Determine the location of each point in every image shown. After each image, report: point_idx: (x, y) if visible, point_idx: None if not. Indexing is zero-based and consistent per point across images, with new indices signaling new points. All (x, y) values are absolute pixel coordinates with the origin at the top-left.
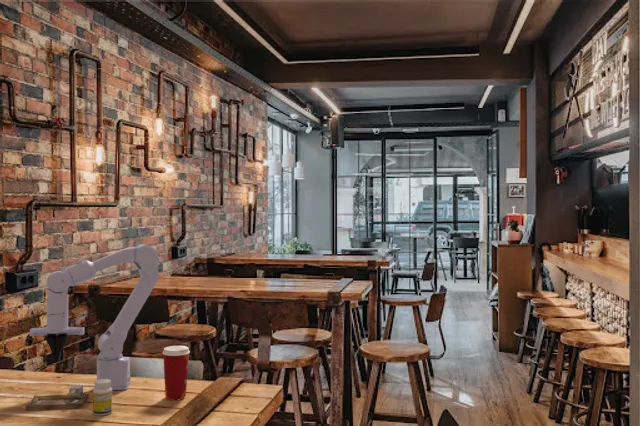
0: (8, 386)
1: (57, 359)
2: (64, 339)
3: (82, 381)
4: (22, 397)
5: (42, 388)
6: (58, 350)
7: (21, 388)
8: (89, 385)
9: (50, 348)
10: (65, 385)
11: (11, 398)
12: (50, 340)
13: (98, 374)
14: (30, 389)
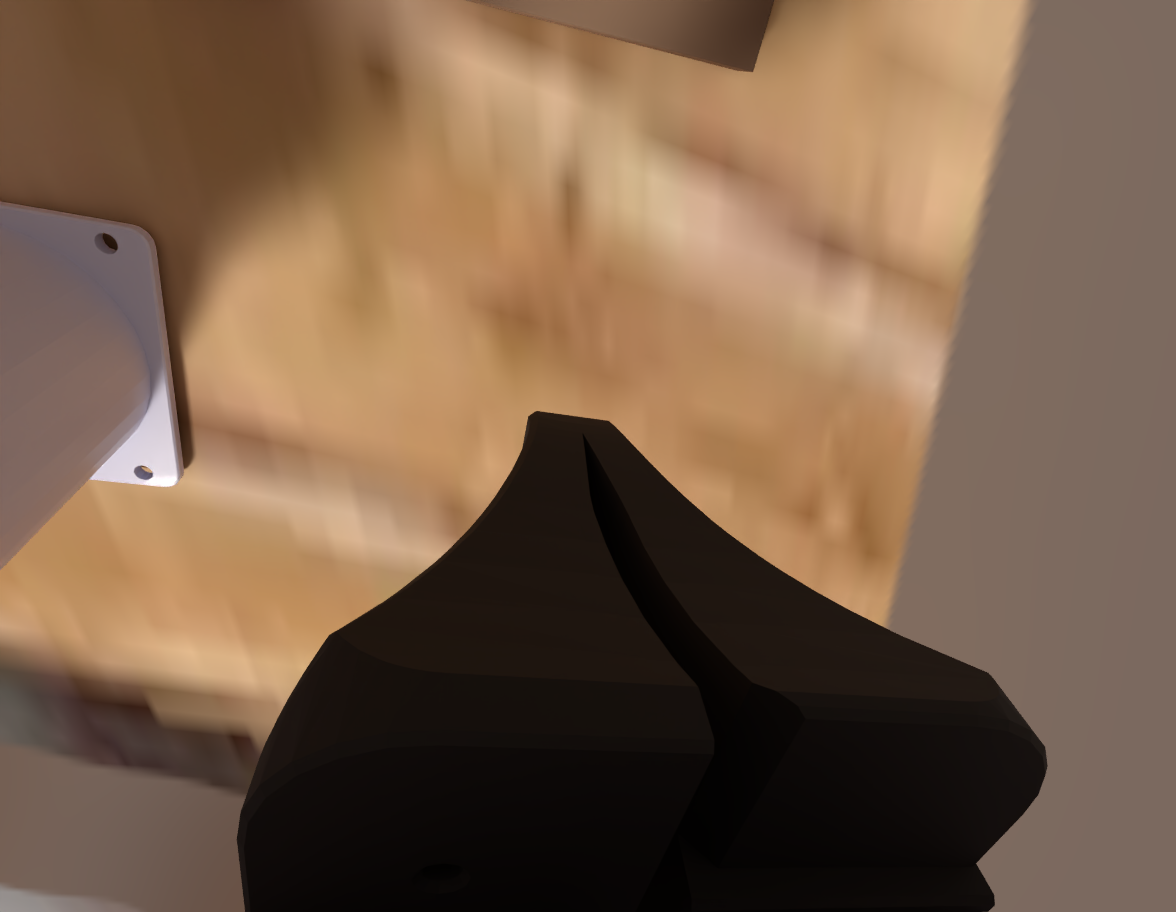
0: (880, 569)
1: (552, 421)
2: (302, 678)
3: (355, 579)
4: (838, 232)
5: (659, 466)
6: (543, 494)
7: (807, 503)
8: (262, 457)
9: (739, 547)
10: (480, 504)
11: (928, 229)
12: (861, 665)
13: (11, 348)
14: (749, 462)
